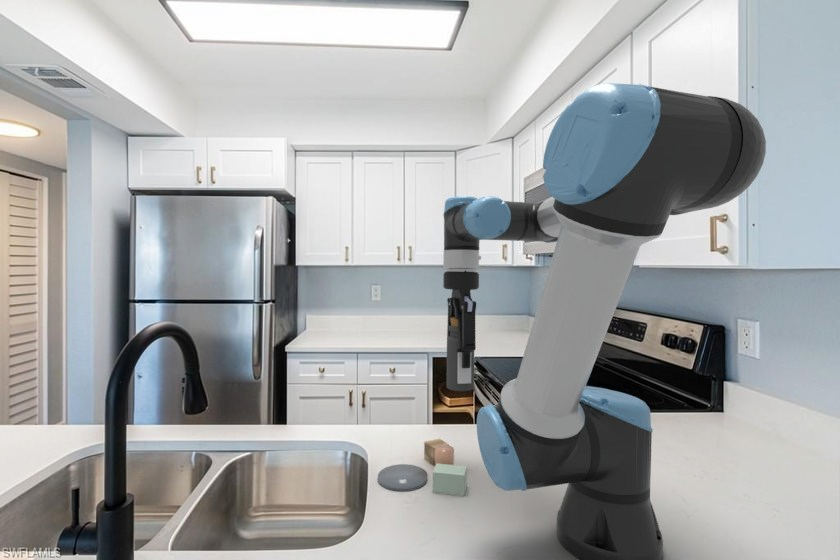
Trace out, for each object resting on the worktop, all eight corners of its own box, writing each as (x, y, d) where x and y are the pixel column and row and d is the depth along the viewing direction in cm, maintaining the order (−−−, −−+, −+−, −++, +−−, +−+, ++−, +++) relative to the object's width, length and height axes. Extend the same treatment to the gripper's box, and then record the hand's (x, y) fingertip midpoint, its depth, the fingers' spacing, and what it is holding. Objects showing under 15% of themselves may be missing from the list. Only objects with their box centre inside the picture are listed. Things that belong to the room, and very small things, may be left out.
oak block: (448, 462, 95) (449, 444, 95) (433, 466, 93) (433, 447, 93) (439, 456, 99) (439, 438, 99) (424, 459, 97) (424, 441, 97)
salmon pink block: (456, 476, 89) (456, 451, 89) (437, 478, 88) (437, 453, 88) (450, 467, 93) (450, 444, 93) (432, 469, 92) (432, 445, 92)
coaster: (433, 488, 84) (433, 484, 84) (381, 493, 81) (381, 489, 81) (421, 466, 93) (421, 462, 93) (374, 470, 91) (374, 466, 91)
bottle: (474, 385, 95) (475, 316, 95) (473, 392, 89) (474, 319, 89) (447, 383, 96) (448, 316, 96) (445, 390, 90) (445, 318, 90)
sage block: (464, 496, 81) (464, 475, 81) (432, 493, 82) (432, 472, 82) (466, 486, 85) (466, 466, 85) (436, 483, 86) (436, 463, 86)
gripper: (493, 270, 84) (492, 390, 84) (465, 271, 102) (464, 369, 102) (456, 270, 82) (454, 391, 82) (434, 270, 101) (433, 370, 101)
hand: (459, 379), depth 92 cm, fingers closed on bottle, 6 cm apart
